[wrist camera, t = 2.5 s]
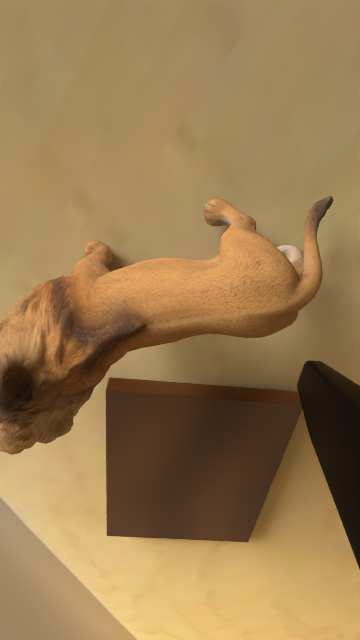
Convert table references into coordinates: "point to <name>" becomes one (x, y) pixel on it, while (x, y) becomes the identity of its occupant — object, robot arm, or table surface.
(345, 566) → the table surface
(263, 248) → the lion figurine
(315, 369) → the robot arm
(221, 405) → the walnut board
